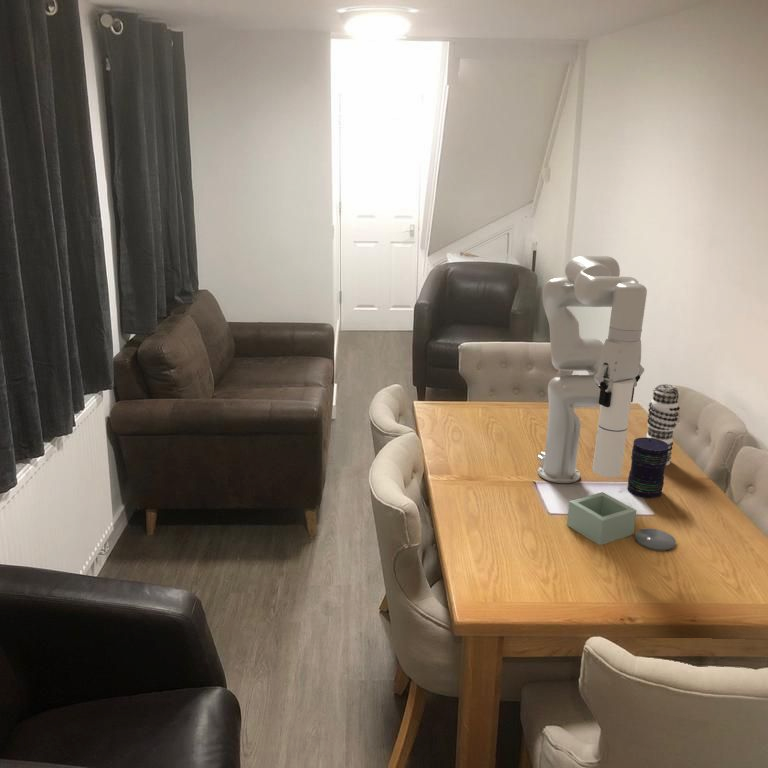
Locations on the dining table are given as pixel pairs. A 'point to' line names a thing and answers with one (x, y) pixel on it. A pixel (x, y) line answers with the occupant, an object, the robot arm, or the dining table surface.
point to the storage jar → (647, 467)
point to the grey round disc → (655, 539)
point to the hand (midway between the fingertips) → (615, 402)
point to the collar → (601, 518)
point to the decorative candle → (663, 415)
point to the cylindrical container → (613, 430)
